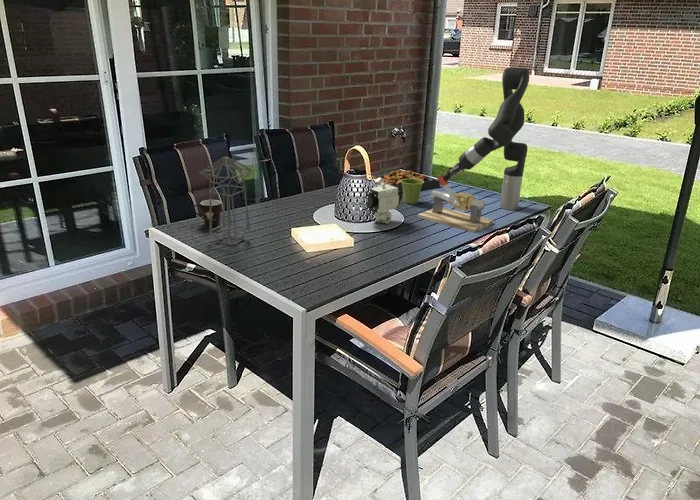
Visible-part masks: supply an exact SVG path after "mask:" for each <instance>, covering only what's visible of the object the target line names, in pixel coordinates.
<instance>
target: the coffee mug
mask: <svg viewBox="0 0 700 500" xmlns="http://www.w3.org/2000/svg"><path fill="white" fill-rule="evenodd" d="M221 206H222V202H221V201H220V200H218V199H211V212H212V228H213V227H218V226H220V225H221V224H220V223H221ZM195 207H199V208H200V210H201V213H202V214H199V213H198V212H196V211H195ZM192 211H193V212H194V214H196V215H197V216H198V217H200V218H202V219H203V223H204V226H205V227H209V228H210V199H207V200H206V199H205V200H202V201H201V202H200V204H195V205H193V206H192Z"/></svg>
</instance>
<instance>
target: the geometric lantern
mask: <svg viewBox="0 0 700 500" xmlns="http://www.w3.org/2000/svg"><path fill="white" fill-rule="evenodd" d="M240 166H242V167H240ZM223 167H225V168H226V172H227V173H226V174H227V176H220V174H221V171H222V169H223ZM231 168H232V169H231ZM243 170H245V171H244V172H242V171H243ZM237 171H238V173H240V174H238V173H237ZM252 171H253V169H252V168H251V167H249V166H247V165H245V164H243V163H241V162H239V161H237V160H235V159H233V158H230V157H229V156H223V157H222V158H221V157H220V159H218V160H216V161H215V162H213V163H212V164H211V165H209V166H207V167H205V168H204V169H202V170H201V171H199V174H200V175H202V176H204V178H205V179H207V180H208V181H209V200H210V227H209V229H208V231H209V233H210V235H212V236H214V237H215V238H216V243H218V244H223V245H228V246H236V245H237V244H239V243H240V242H243V241H244V235H245V234H247V233H248V232H250V231H251V226H250V219H249V209H248V203H247V202H248V201H247V193H246V192H247V191H246V189H247V187H246V185H245V180H246V178H247V177H248V176H249V174H250V173H251V172H252ZM208 172H209V173H208ZM211 172H212V173H211ZM230 173H231V177H230ZM213 178H215V180H216V181H215V182H214V181H213V180H212V179H213ZM236 178H237V179H236ZM218 179H219V180H220V181H219V182H218ZM240 179H241V180H240ZM227 180H229V181H228V183H227V184H226V183H225V182H226V181H227ZM232 180H234V181H235V182H236V183H237V184H236V185H230V183H232V182H231V181H232ZM241 183H242V186H239V184H241ZM215 185H218V186H216V187H215ZM225 187H227V192H226V191H225ZM230 187H233V188H234V190H233V192H232V193H231V194H230ZM218 188H220V189H221V190H222V193H218V192H214V191H213V190H215V189H218ZM238 188H239V189H243V190H240V191H238V192H236V189H238ZM242 192H243V194H244V195H243V196H244V204H245V216H246V225H241V224H236V217H235V216H236V215H235V205H234V198H233V197H234V196H235V195H237V194H239V193H242ZM212 194H215V195H219V196H222V202H223V203H222V205H223V206H222V207H223V208H222V210H223V213H222V215H223V216H222V220H223V221H222V222H223V223H222V224H219V225H218V226H215V228H213V227H212V212H211V200H212ZM225 197H226V199H225ZM230 197H231V201H230ZM225 200H226V201H225ZM225 202H226V205H225ZM230 202H231V203H230ZM225 206H226V208H225ZM231 206H232V214H233V223H232V218H231V217H232V215H231ZM225 209H227V223H226V222H225V219H226V217H225V216H226V215H225V213H226V212H225ZM225 225H227V226H228V227H227V228H228V229H226V227H225ZM230 226H234V231H231V227H230ZM221 227H223V228H224V232H222V233H221V234H219V233H214V232H213V231H215V230H217V229H219V228H221ZM237 227H240V228H241V227H242V228H245V229H244V231H243V232H237ZM231 234H234V235H235V236H233V235H231ZM232 239H233V240H232ZM238 239H241V240H238ZM222 240H223V241H229V242H231V243H228V242H227V243H226V242H220V241H222ZM236 240H238V241H237V242H236ZM233 242H234V243H233Z"/></svg>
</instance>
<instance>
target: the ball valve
mask: <svg viewBox="0 0 700 500" xmlns="http://www.w3.org/2000/svg"><path fill="white" fill-rule="evenodd" d="M370 191H371V193H369V194H368V202H367V208H371V211H370V212H374V213H375V214H374V213H373V214H374V215H373V214H372V215H373V216H375V218H376V219H375V220H374V221H373V222H372V223H374V222H375V224H379V222H380V223H381V224H384V223H386V224H390V223H391V221H392V213H391V212H390V211H391V210H395V209H399V206H401V201H402V200H403V193H401V191H400V188H398V187H395V186H393V185H390V184H389V185H385V184H382V186H377V187H374V188H372V189H370ZM376 222H378V223H376Z"/></svg>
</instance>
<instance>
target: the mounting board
mask: <svg viewBox="0 0 700 500" xmlns="http://www.w3.org/2000/svg"><path fill="white" fill-rule="evenodd" d="M432 210H433V208H431V209H429V210H426V211H425V210H424V211H423V212H421V213H418V215H417V216H418V217H417V218H418V219H423V220H427V221H430V222H434V223H438V224H441V225H445V226H447V227H448V226H449V227H453V228H456V229H461V230H464V231H468V232H471V231H472V232H471V233H477V232H479V231H481V230H483V229H485V228H487V227H489V226H490V225H492V224H494V219H490V218H486V217H483V216H481V217H480V222H478V223H476V224H474V223H470V214H471V213H465V212H462V211H458V210H453V209H450V208H445V207H443V211H442V213H439V214H435V213H432ZM476 231H477V232H476Z"/></svg>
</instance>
